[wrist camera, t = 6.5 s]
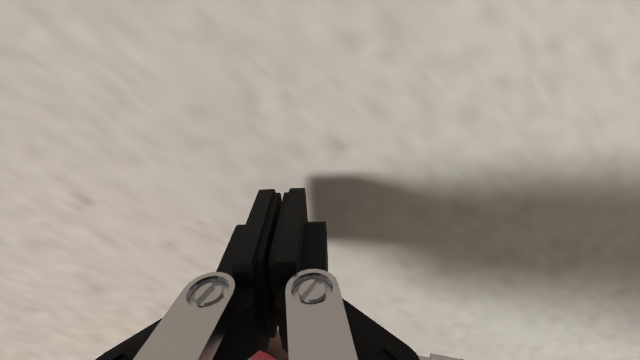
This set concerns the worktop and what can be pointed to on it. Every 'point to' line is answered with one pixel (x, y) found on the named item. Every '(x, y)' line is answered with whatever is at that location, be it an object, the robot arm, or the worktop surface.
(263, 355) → the ball
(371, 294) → the worktop surface
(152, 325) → the robot arm
